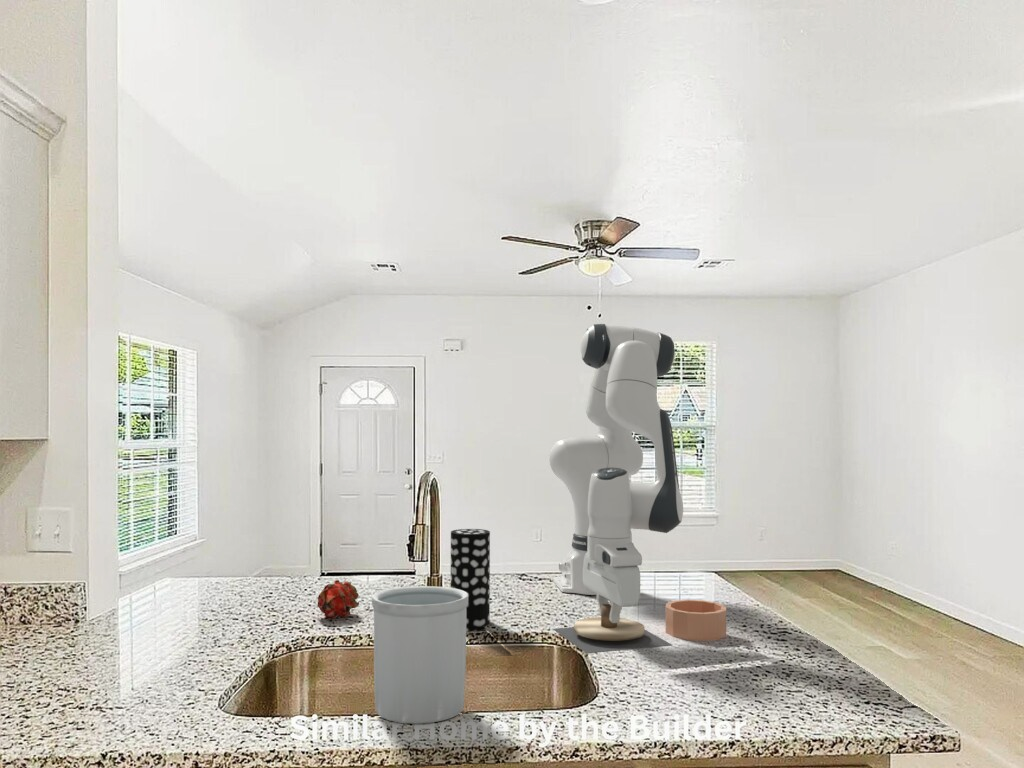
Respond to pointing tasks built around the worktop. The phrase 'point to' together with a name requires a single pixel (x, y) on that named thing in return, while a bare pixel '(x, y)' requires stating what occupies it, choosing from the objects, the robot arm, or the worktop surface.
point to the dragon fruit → (337, 599)
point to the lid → (608, 627)
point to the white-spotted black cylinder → (472, 573)
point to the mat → (611, 642)
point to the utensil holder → (419, 653)
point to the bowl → (696, 620)
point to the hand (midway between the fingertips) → (609, 619)
